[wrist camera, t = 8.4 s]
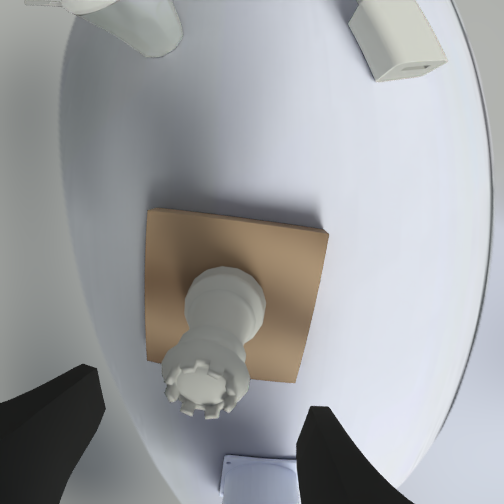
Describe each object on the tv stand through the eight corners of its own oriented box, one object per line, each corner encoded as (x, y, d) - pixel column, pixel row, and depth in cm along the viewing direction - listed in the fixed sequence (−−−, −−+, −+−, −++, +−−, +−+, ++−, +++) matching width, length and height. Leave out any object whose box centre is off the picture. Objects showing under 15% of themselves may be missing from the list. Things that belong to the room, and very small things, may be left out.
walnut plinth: (293, 370, 19) (295, 383, 18) (153, 349, 19) (147, 360, 18) (323, 229, 17) (329, 234, 15) (156, 207, 17) (147, 210, 15)
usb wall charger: (372, 83, 15) (398, 62, 11) (329, -1, 13) (342, -33, 9) (421, 77, 14) (452, 59, 10) (378, -4, 13) (398, -32, 9)
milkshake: (109, 43, 14) (21, -19, 4) (176, 2, 13) (122, -90, 4) (131, 87, 15) (29, 29, 5) (205, 42, 14) (155, -60, 5)
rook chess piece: (282, 298, 16) (295, 393, 9) (232, 347, 17) (213, 449, 10) (221, 247, 16) (183, 310, 8) (174, 302, 17) (117, 387, 9)
